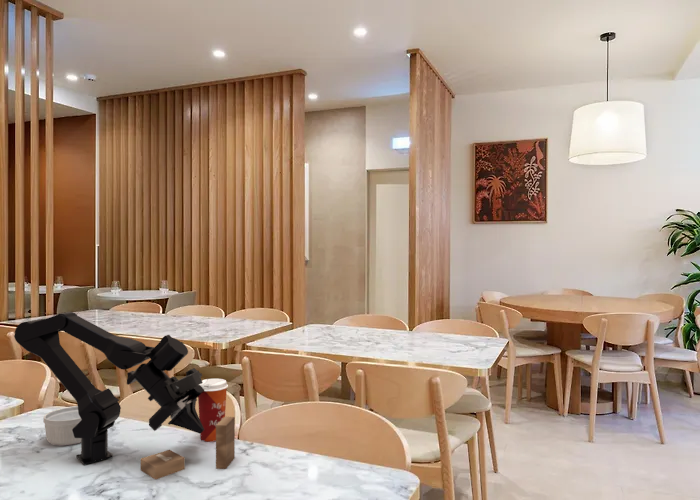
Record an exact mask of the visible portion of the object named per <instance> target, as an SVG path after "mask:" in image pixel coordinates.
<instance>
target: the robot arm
mask: <svg viewBox="0 0 700 500" xmlns="http://www.w3.org/2000/svg"><path fill="white" fill-rule="evenodd" d="M60 332H64V333H66V334H68V335H69V336H72V337H74V338H75V339H77V340H79V341H81V342H83V343H85V344H87V345H88V346H91V347H93V348H94V349H96V350H98V351H100V352H101V353H103V354H104V355H105V356H104V357H106V359H107V360H108V362H110V363H111V364H113V365H114V366H115V367H116V368H118V369H119V370H124V371H126V370H129V369H131V368H133V367H137V366H138V365H139V366H138V367H137V368H136V369H135V370H131V371H129V372H127V379H126V385H130V384H133V383H135V382H138V384H139V385H140V387H142V388H143V389H144V390H145V391H146V392H147V394H148V395H149V396H148V397H147V399H148V401H150V402H152V401H153V400H154V402H156V403H157V404H158V406H160V408H159V409H158V410H156V412H155V413H154V414H153V415H151V416H150V417H149V419H148V426H149V427H150V428H151V429H152V431H154V432H156V431H157V430H158V429H160V428H161V427H162V425H163V424H164V422H166V420H167V419H168V418H170V419H171V420H170V421H169V422H167V424H168V425H173V426H176V427H179V428H183V429H186V430H188V431H192V432H194V433H197V434H199V435H200V434H201V433H202V432H203V431H204V428H203V425H202V423H201V421H200V419H199V413H197V410H196V404H197V401H198V396H199V395H200V394H201V393H202V392H203V391H204V389H203V388H202V387H201V386H200V385H199V384H202V383H203V382H202V377H203V373H201V372H200V371H199V370H197V369H196V368H191V369H189V370H187V371H186V373H185V376H183V377H182V378H180V379H178V378H177V377H176V376H171V377H170V376H169V375H168V374H167V373H166V372H165V371H167V372H170V371H172V370H173V369H175V367H176V366H177V365H178V364H179V363H180V362H181V361H182V360H183V359H184V358H185V357H186V356H187V355H188V354H189V349H188V347H187V346H186V344H184V342H183V341H180V340H178V339H177V338H175V337H172V336H171V335H170V334H166V335H164V336H163V337H162V338H161V340H160V341H159V342H158V343H157V344H156V345H155V346H154V347H153V346H150V345H146V344H145V343H144V342H142V341H140V340H136V339H133V338H130V337H126V336H125V337H123V336H118V335H116V334H113V333H112V332H109V331H107V329H104V328H102V327H100V326H98V325H96V324H94V323H92V322H91V321H88V320H86V319H84V318H83V317H81V316H79V315H78V314H77V313H76V312H73V311H67V312H61V313H58V314H56V315H53V316H50V317H48V318H39V319H37V318H36V319H33V320H27V321H23V322H20V323H19V324H18V325H17V326H16V328H15V330H14V334H13V337H14V340H15V342H16V343H17V344H18V345H19V346H21V348H23V349H24V350H25V351H26V352H29V353H31V354H33V355H35V356H37V357H39V358H40V359H42V361H43V362H44V363H45V364H46V366H47V367H48V368H49V370H50V372H52V373H53V375H54V377H56V378H57V380H58V381H59V382H60V383H61V384H62V385H63V386H64V388H65V389H66V391H67V392H68V393H69V394H70V396H72V397H73V399H74V400H75V402H76V403H77V404H76V406H78V413H79V416H80V418H81V419H82V420H81V421H80V422H79V423H78V424H77V425H76V426H75V427H74V428H73V429H72V431H73V434H74V437H75V438H81V443H80V448H81V449H80V451H81V452H80V453H79V454H76V455H75V456H76V457H75V458H76V459H77V460H78V461H79V462H80V463H81V464H82V465H84V466H85V465H90V464H94V463H96V462H97V463H98V462H101V461H104V460H107V459H111V458H113V457H114V456H113V454H112V453H111V452H110V451H109V450H108V449H109V448H108V447H109V446H108V441H109V439H108V438H109V437H108V436H109V435H108V434H109V432H108V431H109V429H110V428H113V427H114V424H115V423H116V421H117V420H118V419H119V417H120V414H121V409H122V407H121V405H120V403H119V401H120V399H119V398H117V397H116V396H115V395H114V393H113V392H112V390H111V389H110V388H106V389H104V390H101V389H98V388H97V387H95V385H94V384H93V383H92V381H91V380H90V379H89V378H88V377H87V376H86V374H85V373H84V372H83V370H81V368H80V367H79V365H78V364H77V363H76V362H75V361H74V360H73V359H72V358H71V356H70V355H69V353H68V352H67V351H66V350H65V348H64V347H63V346H62V345H61V342H60V335H59V333H60ZM147 360H149V361H147ZM145 361H147V363H144V362H145Z"/></svg>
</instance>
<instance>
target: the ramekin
mask: <svg viewBox="0 0 700 500" xmlns="http://www.w3.org/2000/svg"><path fill="white" fill-rule="evenodd" d="M81 420H82V419H81V418H80V416H79V413H78V405H73V406H67V407H62V408H59V409H55V410H51V411H49V412H47V413H46V414H44V416H43V423H44V430H45V436H46V437H45V438H46V440H47V442H49V444H50V445H53V446H71V445H77V444H81V438H75V437H74V434H73V431H72V429H73V428H74V427H75V426H76V425H77V424H78V423H79V422H80V421H81Z"/></svg>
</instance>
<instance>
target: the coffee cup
mask: <svg viewBox="0 0 700 500" xmlns="http://www.w3.org/2000/svg"><path fill="white" fill-rule="evenodd" d="M201 380H202V379H201ZM202 382H203V383H202V384H199V385H200V386H201V387H202V388H203V389H204V391H203V392H202V393H201V394H200V395H199V396H198V398H197V401H198V402H197V403H198V404H197V405H198V417H199V419H200V421H201V423H202V425H203V428H204V431H203V432H202V433H201V434H199V435H200V440H201V441H202V442H205V443H206V442H207V443H209V442H211V443H213V442H216V425H217V424H218V423H219V422H220V421H221V420H222V419H223V418H224V417H226V406H227V388H228V387H229V385H228V383H227V380H226V379H223V378H206V379H203V380H202Z"/></svg>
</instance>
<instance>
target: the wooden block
mask: <svg viewBox="0 0 700 500" xmlns="http://www.w3.org/2000/svg"><path fill="white" fill-rule="evenodd" d="M235 423H236V419H235V416H225V417H224V418H223V419H222V420H221V421H220V422H219V423H218V424H217V425H216V441H215V469H217V470H227V469H228V468H229V466H231V464H232V463H233V462H234V460H235V458H236V457H235V455H236V452H235V447H236V444H235V439H236V437H235V436H236V435H235V433H236V432H235V431H236V429H235V427H236V425H235Z"/></svg>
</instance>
